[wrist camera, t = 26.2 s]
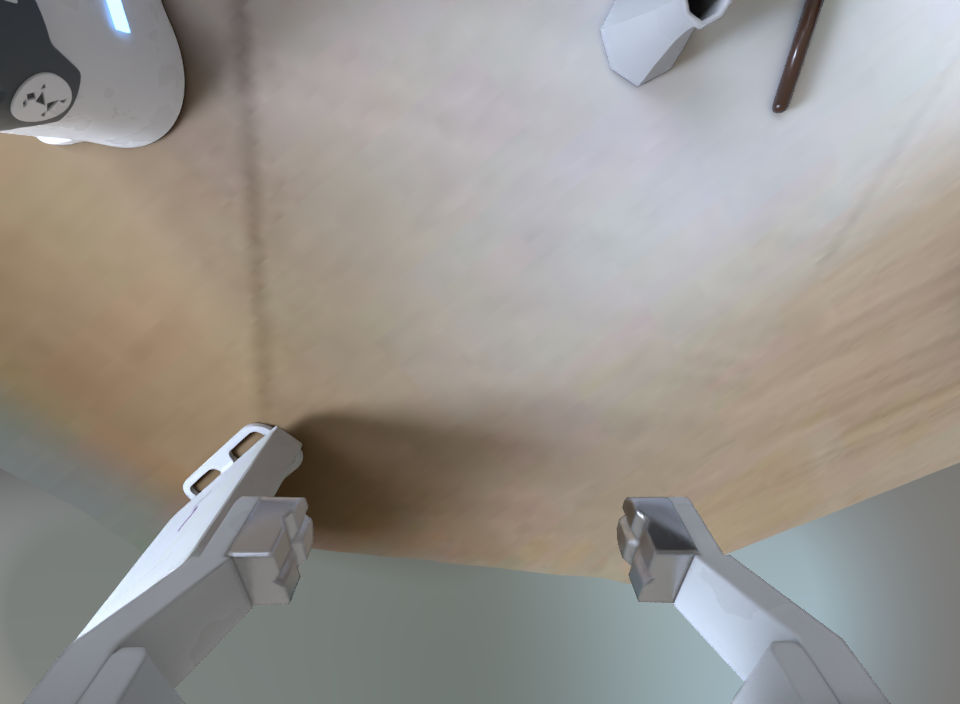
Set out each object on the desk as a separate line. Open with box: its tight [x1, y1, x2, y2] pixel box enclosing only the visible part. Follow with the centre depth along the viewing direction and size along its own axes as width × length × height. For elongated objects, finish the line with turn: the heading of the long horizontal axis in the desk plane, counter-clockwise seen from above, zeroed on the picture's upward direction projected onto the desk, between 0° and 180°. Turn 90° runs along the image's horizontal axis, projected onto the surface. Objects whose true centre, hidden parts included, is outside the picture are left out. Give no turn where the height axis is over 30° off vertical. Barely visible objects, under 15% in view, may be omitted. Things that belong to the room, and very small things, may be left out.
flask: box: [600, 0, 732, 87], centre depth 28 cm, size 7×7×10 cm
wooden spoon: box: [772, 0, 824, 113], centre depth 32 cm, size 14×4×1 cm, turn 179°
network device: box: [76, 423, 303, 640], centre depth 46 cm, size 26×9×20 cm, turn 131°
